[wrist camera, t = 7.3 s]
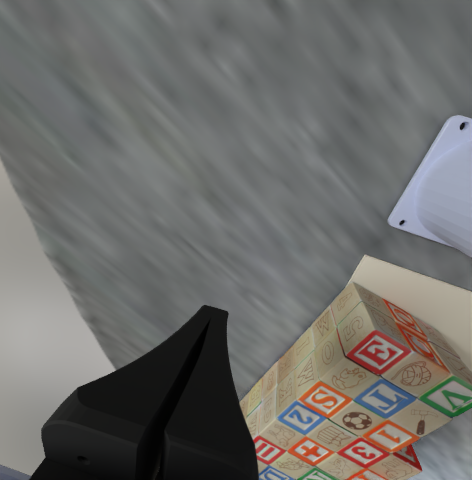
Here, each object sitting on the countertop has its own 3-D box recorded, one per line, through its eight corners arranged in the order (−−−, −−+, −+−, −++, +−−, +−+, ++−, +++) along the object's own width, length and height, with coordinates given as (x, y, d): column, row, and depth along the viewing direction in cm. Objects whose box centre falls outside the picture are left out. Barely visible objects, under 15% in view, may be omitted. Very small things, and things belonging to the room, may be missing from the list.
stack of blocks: (374, 328, 16) (533, 417, 16) (350, 278, 21) (467, 345, 22) (226, 465, 24) (331, 521, 25) (237, 403, 30) (322, 450, 31)
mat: (530, 311, 20) (532, 313, 20) (368, 467, 31) (369, 469, 30) (364, 254, 21) (365, 255, 20) (262, 426, 31) (262, 427, 31)
